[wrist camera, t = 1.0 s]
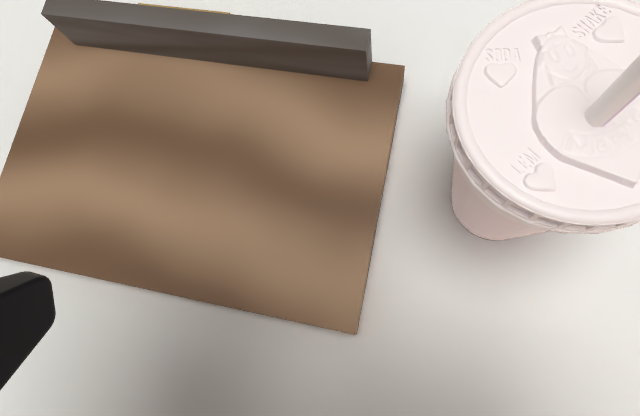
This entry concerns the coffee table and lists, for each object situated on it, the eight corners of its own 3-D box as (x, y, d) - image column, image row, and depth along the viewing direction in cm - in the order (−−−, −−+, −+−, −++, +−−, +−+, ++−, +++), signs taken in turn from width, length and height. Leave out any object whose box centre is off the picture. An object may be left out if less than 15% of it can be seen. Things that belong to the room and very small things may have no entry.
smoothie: (455, 293, 20) (602, 232, 7) (398, 161, 22) (424, -98, 8) (598, 240, 20) (1048, 66, 6) (530, 111, 22) (773, -239, 8)
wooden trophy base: (356, 334, 20) (351, 336, 16) (-2, 255, 23) (-78, 242, 20) (404, 76, 23) (408, 26, 19) (75, 36, 26) (22, -14, 22)
